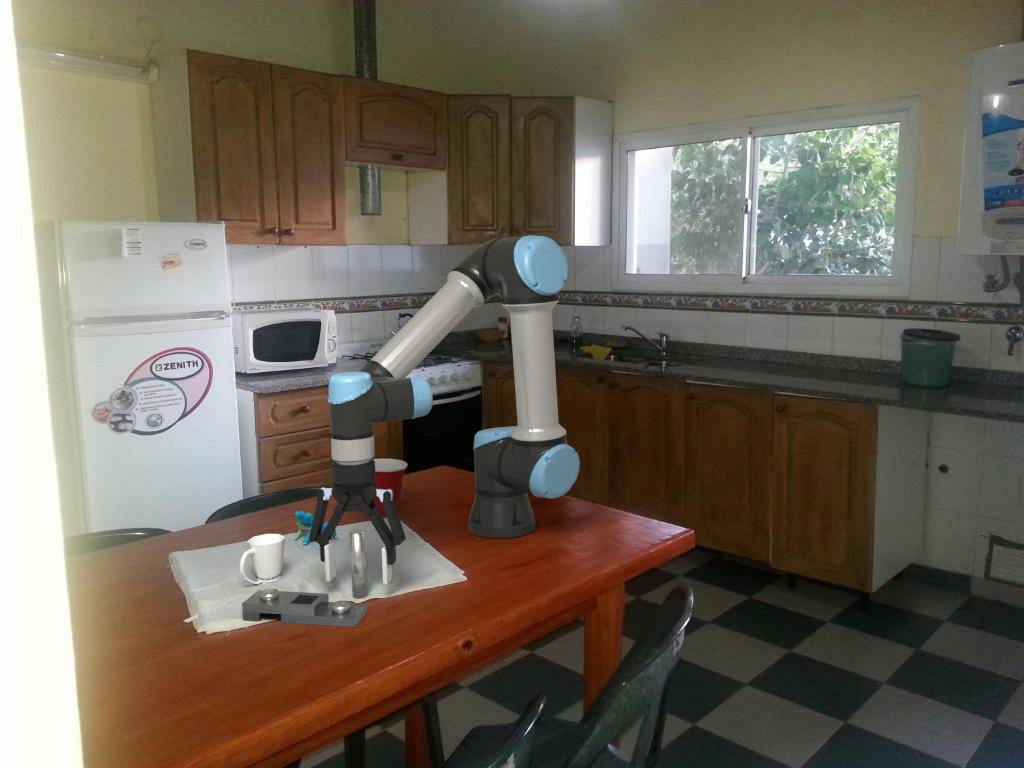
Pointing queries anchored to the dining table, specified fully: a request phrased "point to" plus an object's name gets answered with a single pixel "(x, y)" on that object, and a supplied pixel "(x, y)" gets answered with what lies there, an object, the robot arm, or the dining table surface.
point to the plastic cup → (389, 478)
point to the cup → (265, 557)
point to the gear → (307, 525)
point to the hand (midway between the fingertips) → (359, 579)
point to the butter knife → (217, 605)
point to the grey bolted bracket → (302, 608)
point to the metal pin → (358, 563)
